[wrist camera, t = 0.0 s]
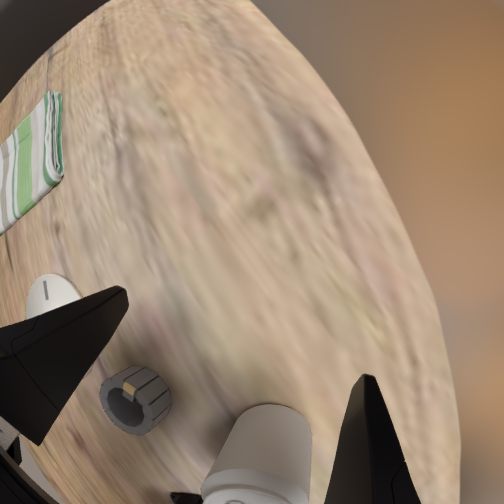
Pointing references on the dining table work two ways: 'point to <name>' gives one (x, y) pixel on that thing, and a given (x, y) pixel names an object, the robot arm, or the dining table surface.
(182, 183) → the dining table surface
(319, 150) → the dining table surface
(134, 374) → the grey segmented ring
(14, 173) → the dish towel
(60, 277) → the shaft hub
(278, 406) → the can
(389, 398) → the dining table surface
